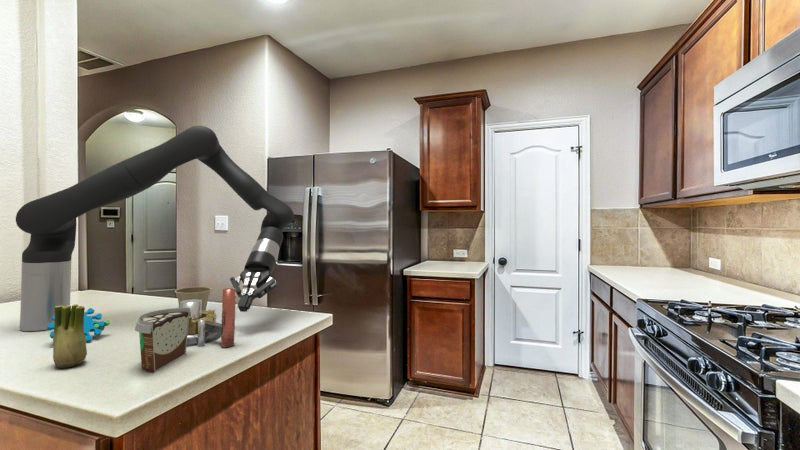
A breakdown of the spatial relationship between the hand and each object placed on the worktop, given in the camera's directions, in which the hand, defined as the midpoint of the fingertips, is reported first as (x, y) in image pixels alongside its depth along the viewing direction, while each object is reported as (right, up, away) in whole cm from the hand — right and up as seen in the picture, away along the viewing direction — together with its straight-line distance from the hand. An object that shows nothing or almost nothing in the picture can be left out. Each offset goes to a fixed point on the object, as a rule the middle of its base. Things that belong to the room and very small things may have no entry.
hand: (242, 310), depth 90 cm
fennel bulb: (-25, -6, -21) cm, 33 cm away
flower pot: (-21, -6, +14) cm, 26 cm away
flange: (-12, -6, -3) cm, 14 cm away
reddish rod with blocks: (-8, -6, -4) cm, 11 cm away
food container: (-10, -7, -18) cm, 22 cm away
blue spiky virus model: (-35, -6, -7) cm, 36 cm away
